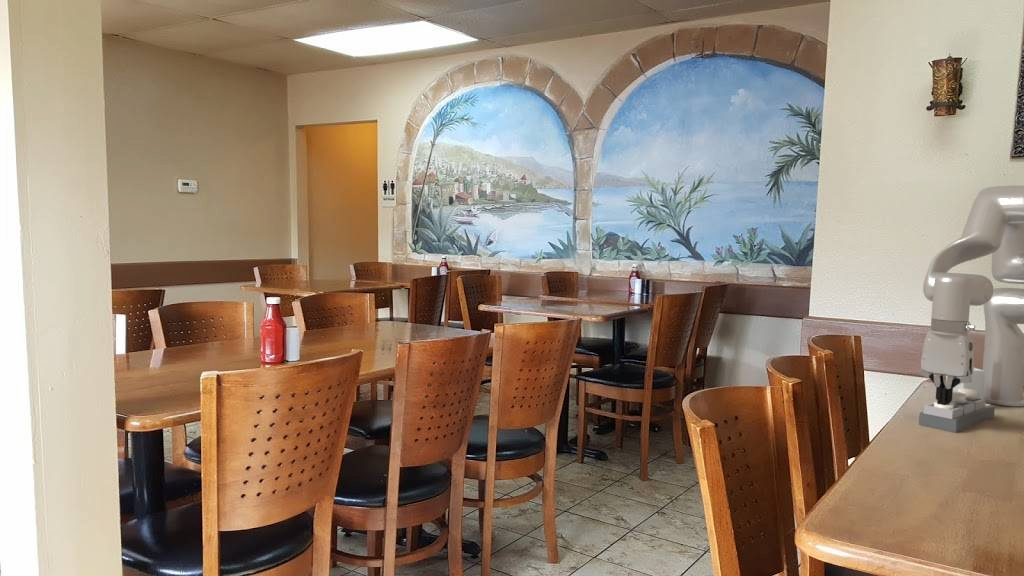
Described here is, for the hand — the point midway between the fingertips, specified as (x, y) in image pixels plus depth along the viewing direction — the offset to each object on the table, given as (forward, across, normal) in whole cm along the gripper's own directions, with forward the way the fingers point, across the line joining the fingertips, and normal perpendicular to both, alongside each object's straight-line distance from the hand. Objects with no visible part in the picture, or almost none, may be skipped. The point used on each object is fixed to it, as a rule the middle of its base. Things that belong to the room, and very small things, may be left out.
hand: (943, 403), depth 168 cm
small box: (+6, +6, -28) cm, 29 cm away
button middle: (0, 0, -7) cm, 7 cm away
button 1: (+2, 0, 0) cm, 2 cm away
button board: (+6, 0, -9) cm, 11 cm away
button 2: (0, 0, -14) cm, 14 cm away
